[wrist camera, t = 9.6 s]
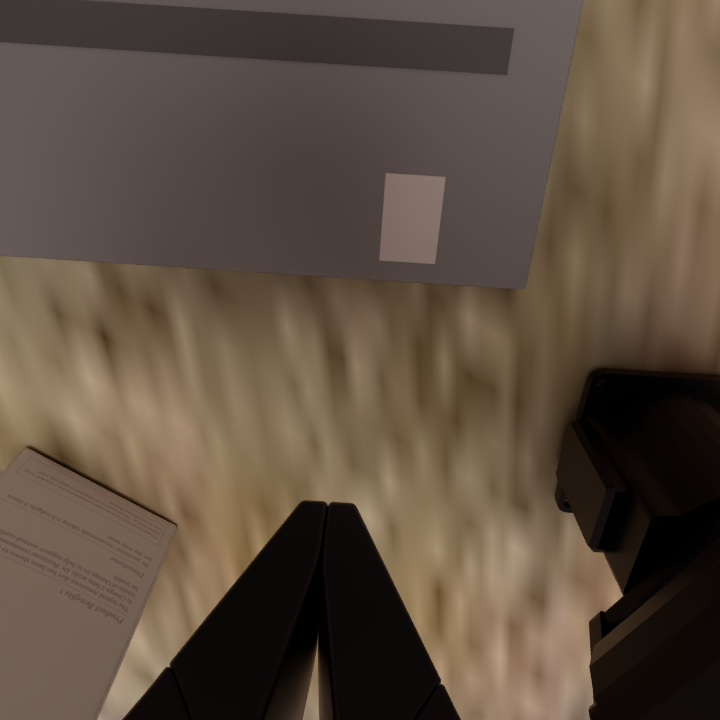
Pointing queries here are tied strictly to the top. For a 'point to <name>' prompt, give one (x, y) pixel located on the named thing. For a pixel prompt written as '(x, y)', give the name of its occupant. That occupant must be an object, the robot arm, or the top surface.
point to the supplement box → (69, 588)
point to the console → (283, 134)
